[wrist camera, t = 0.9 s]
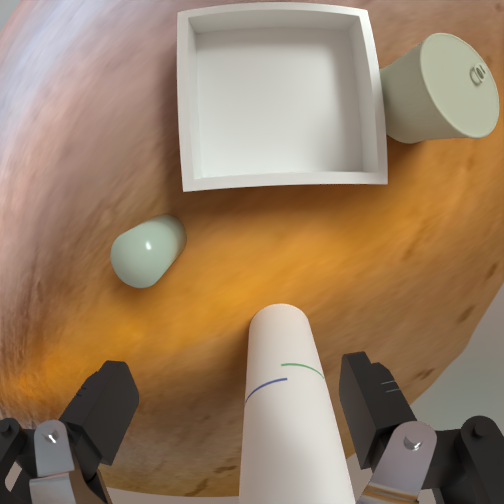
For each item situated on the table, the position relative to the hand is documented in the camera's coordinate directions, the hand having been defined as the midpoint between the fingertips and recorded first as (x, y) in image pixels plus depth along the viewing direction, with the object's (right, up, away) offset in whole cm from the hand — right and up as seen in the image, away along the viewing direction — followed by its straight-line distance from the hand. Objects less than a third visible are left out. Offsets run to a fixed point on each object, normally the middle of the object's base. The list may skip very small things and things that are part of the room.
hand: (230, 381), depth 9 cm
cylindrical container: (+4, -5, +24) cm, 24 cm away
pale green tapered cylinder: (-9, +6, +21) cm, 23 cm away
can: (+17, +21, +16) cm, 32 cm away
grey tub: (+3, +20, +16) cm, 26 cm away
